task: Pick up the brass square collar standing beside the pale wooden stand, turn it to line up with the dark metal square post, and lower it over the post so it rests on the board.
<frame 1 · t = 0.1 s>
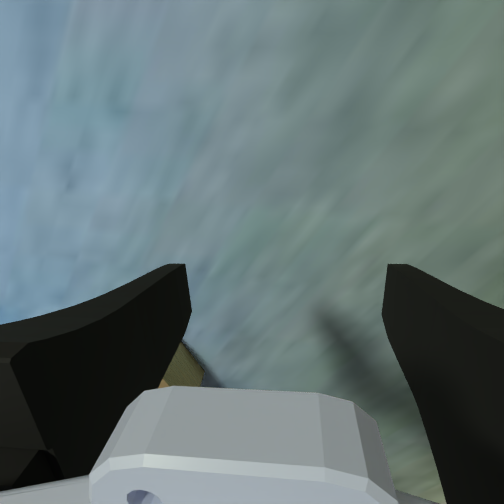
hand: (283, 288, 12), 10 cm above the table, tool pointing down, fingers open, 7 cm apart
collar: (163, 360, 27), on the table
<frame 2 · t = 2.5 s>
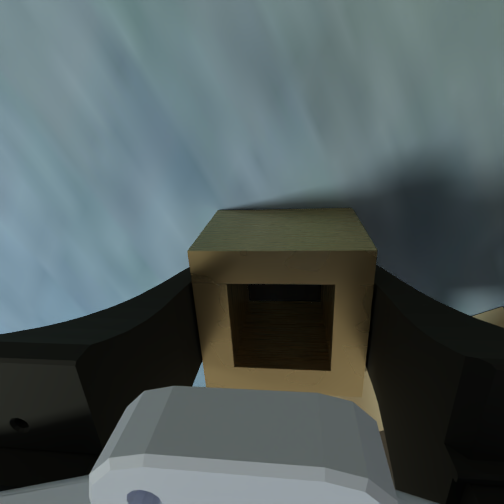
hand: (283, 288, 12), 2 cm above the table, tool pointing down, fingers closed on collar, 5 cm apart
collar: (284, 269, 13), on the table, touching gripper
post stand: (368, 427, 16), on the table
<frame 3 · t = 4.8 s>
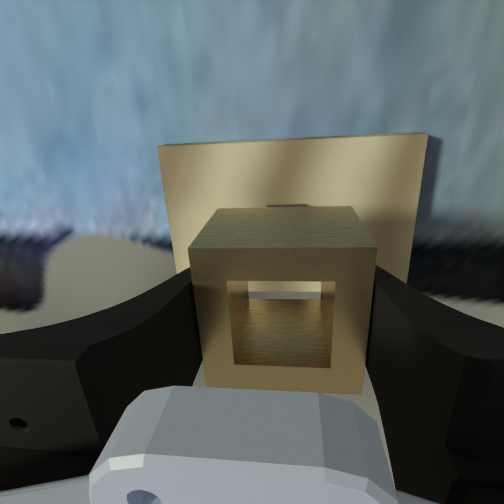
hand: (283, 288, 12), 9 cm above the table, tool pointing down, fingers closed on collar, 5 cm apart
collar: (283, 267, 13), point 7 cm above the table, touching gripper
post stand: (287, 216, 20), on the table
when the fingers open (4 cm above the table, at t = 7.2 s): collar drops 1 cm, resting on post stand.
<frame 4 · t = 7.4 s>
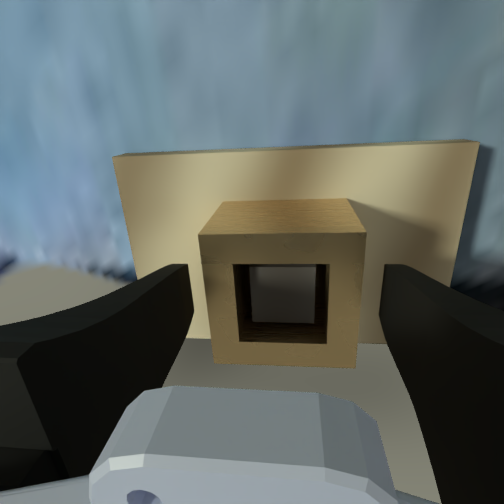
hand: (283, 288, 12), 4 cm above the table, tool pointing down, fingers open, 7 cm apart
collar: (284, 255, 14), point 1 cm above the table, touching post stand
post stand: (285, 246, 16), on the table
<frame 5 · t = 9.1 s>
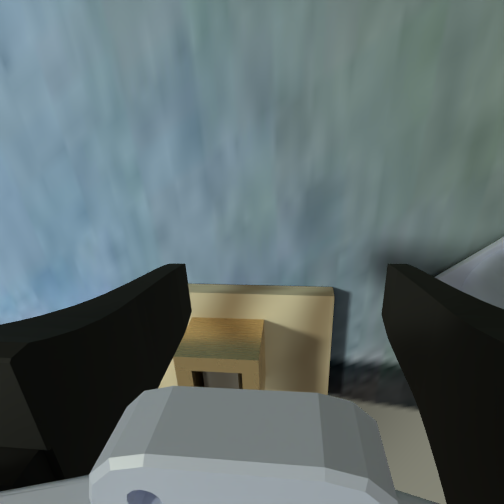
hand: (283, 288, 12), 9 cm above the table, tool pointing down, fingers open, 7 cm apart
collar: (229, 347, 24), point 1 cm above the table, touching post stand
post stand: (233, 337, 25), on the table
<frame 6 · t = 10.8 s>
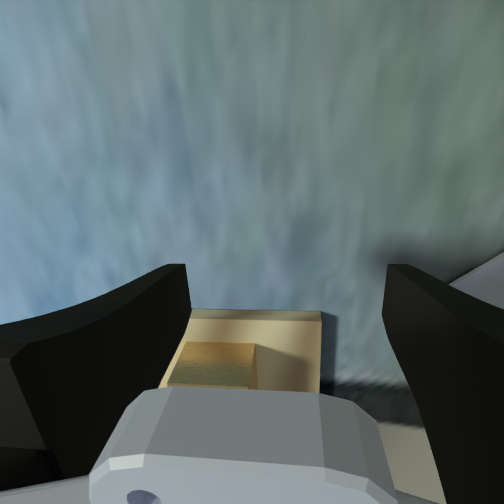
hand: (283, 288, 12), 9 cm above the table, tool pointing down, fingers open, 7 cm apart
collar: (223, 369, 24), point 1 cm above the table, touching post stand
post stand: (226, 359, 26), on the table
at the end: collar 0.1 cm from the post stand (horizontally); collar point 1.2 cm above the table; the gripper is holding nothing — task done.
